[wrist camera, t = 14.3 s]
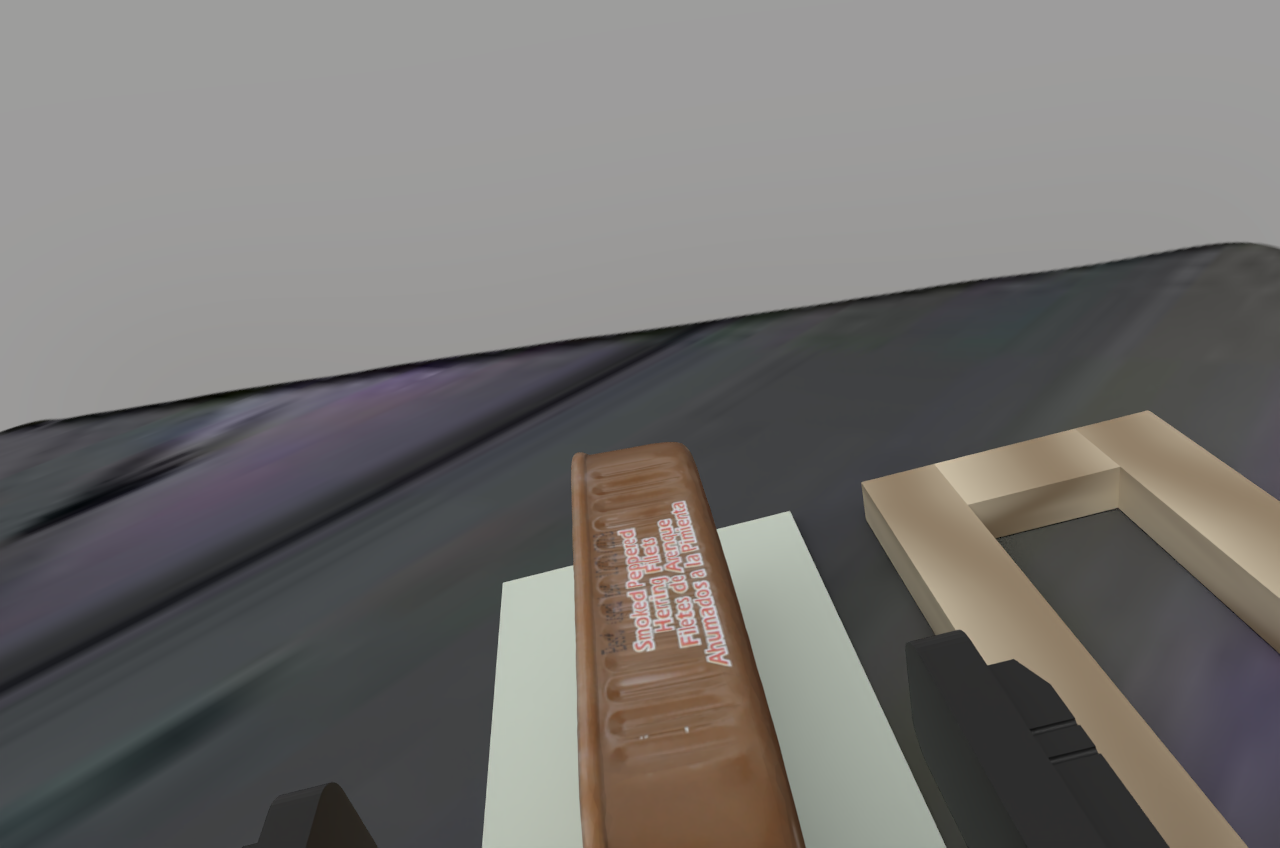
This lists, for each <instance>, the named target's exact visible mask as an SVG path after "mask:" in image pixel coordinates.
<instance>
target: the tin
mask: <svg viewBox="0 0 1280 848" xmlns="http://www.w3.org/2000/svg"><path fill="white" fill-rule="evenodd" d="M572 459H573V460H572V466H571V470H572V472H571V490H572V521H573V531H572V535H573V559H574V561H573V570H574V601H575V633H576V639H575V640H576V680H577V741H578V777H579V802H580V817H581V829H582V842H583V848H806V846H805V842H804V838H803V834H802V830H801V826H800V822H799V818H798V814H797V811H796V807H795V803H794V799H793V795H792V791H791V788H790V784H789V780H788V777H787V773H786V769H785V765H784V761H783V757H782V753H781V749H780V745H779V741H778V738H777V734H776V731H775V727H774V723H773V720H772V717H771V713H770V710H769V707H768V703H767V699H766V696H765V692H764V688H763V685H762V681H761V679H760V676H759V672H758V669H757V665H756V661H755V658H754V654H753V651H752V647H751V643H750V639H749V636H748V633H747V630H746V627H745V623H744V619H743V615H742V612H741V608H740V605H739V601H738V598H737V595H736V592H735V588H734V585H733V581H732V578H731V575H730V571H729V568H728V565H727V561H726V558H725V555H724V552H723V549H722V545H721V541H720V538H719V535H718V532H717V530H716V527H715V523H714V520H713V516H712V513H711V510H710V506H709V504H708V501H707V498H706V495H705V492H704V489H703V486H702V483H701V480H700V476H699V473H698V470H697V467H696V464H695V462H694V459H693V457H692V455H691V453H690V451H689V450H688V448H687V447H686V446H684V445H683V444H681V443H677V442H664V443H655V444H648V445H643V446H638V447H633V448H627V449H621V450H616V451H610V452H604V453H599V454H593V455H588V454H585V453H576V454H574V456H573V458H572Z"/></svg>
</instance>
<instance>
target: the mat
mask: <svg viewBox="0 0 1280 848" xmlns="http://www.w3.org/2000/svg"><path fill="white" fill-rule="evenodd" d="M716 530H717V532H718V535H719V538H720V541H721V545H722V549H723V552H724V555H725V558H726V561H727V565H728V568H729V571H730V575H731V578H732V581H733V585H734V588H735V592H736V595H737V598H738V601H739V605H740V608H741V612H742V615H743V619H744V623H745V627H746V630H747V633H748V636H749V639H750V643H751V647H752V651H753V654H754V658H755V661H756V665H757V669H758V672H759V676H760V679H761V681H762V685H763V688H764V692H765V696H766V699H767V703H768V707H769V710H770V713H771V717H772V720H773V723H774V727H775V731H776V734H777V738H778V741H779V745H780V749H781V753H782V757H783V761H784V765H785V769H786V773H787V777H788V780H789V784H790V788H791V791H792V795H793V799H794V803H795V807H796V811H797V814H798V818H799V822H800V826H801V830H802V834H803V838H804V842H805V846H806V848H946V846H945V844H944V841H943V839H942V837H941V835H940V833H939V831H938V829H937V826H936V824H935V822H934V820H933V818H932V816H931V813H930V811H929V809H928V807H927V805H926V803H925V801H924V798H923V796H922V794H921V792H920V790H919V788H918V786H917V783H916V781H915V779H914V777H913V775H912V773H911V770H910V768H909V766H908V764H907V762H906V760H905V758H904V755H903V753H902V751H901V749H900V747H899V745H898V743H897V740H896V738H895V736H894V734H893V732H892V730H891V727H890V725H889V723H888V721H887V719H886V717H885V715H884V712H883V710H882V708H881V706H880V704H879V702H878V700H877V697H876V695H875V693H874V691H873V689H872V687H871V684H870V682H869V680H868V678H867V676H866V674H865V672H864V669H863V667H862V665H861V663H860V661H859V659H858V657H857V654H856V652H855V650H854V648H853V646H852V644H851V641H850V639H849V637H848V635H847V633H846V631H845V629H844V626H843V624H842V622H841V620H840V618H839V616H838V614H837V611H836V609H835V607H834V605H833V603H832V601H831V598H830V596H829V594H828V592H827V590H826V588H825V586H824V583H823V581H822V579H821V577H820V575H819V573H818V571H817V568H816V566H815V564H814V562H813V560H812V558H811V555H810V553H809V551H808V549H807V547H806V545H805V543H804V540H803V538H802V536H801V534H800V532H799V530H798V527H797V525H796V523H795V521H794V519H793V517H792V515H791V512H790V511H788V512H784V513H780V514H776V515H772V516H768V517H764V518H760V519H756V520H752V521H748V522H744V523H740V524H736V525H732V526H728V527H724V528H720V529H716ZM575 639H576V633H575V601H574V570H573V566H569V567H565V568H561V569H557V570H553V571H549V572H545V573H541V574H537V575H533V576H529V577H525V578H521V579H517V580H513V581H509V582H505V583H503V589H502V602H501V614H500V627H499V640H498V652H497V665H496V678H495V690H494V703H493V716H492V728H491V741H490V754H489V766H488V779H487V792H486V804H485V817H484V830H483V842H482V848H583V842H582V829H581V817H580V802H579V777H578V741H577V680H576V640H575Z"/></svg>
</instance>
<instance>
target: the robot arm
mask: <svg viewBox="0 0 1280 848" xmlns="http://www.w3.org/2000/svg"><path fill="white" fill-rule="evenodd" d="M906 661H907V670H908V680H909V690H910V699H911V709H912V718H913V723H914V728H915V732H916V735H917V739H918V742H919V745H920V748H921V751H922V753H923V756H924V758H925V761H926V763H927V765H928V767H929V769H930V771H931V773H932V775H933V777H934V779H935V781H936V784H937V786H938V788H939V790H940V792H941V794H942V796H943V798H944V800H945V802H946V804H947V806H948V808H949V810H950V812H951V814H952V816H953V818H954V820H955V822H956V824H957V826H958V828H959V830H960V832H961V834H962V836H963V838H964V840H965V842H966V844H967V846H968V848H1170V847H1169V846H1168V844H1167V843H1166V842H1165V840H1164V839H1163V837H1162V836H1161V835H1160V833H1159V832H1158V831H1157V829H1156V828H1155V826H1154V825H1153V824H1152V822H1151V821H1150V820H1149V818H1148V817H1147V816H1146V814H1145V813H1144V811H1143V810H1142V809H1141V807H1140V806H1139V805H1138V803H1137V802H1136V800H1135V799H1134V798H1133V796H1132V795H1131V794H1130V792H1129V791H1128V789H1127V788H1126V787H1125V785H1124V784H1123V783H1122V781H1121V780H1120V779H1119V777H1118V776H1117V774H1116V773H1115V772H1114V770H1113V769H1112V768H1111V766H1110V765H1109V763H1108V762H1107V761H1106V759H1105V758H1104V757H1103V755H1102V754H1101V753H1100V754H1099V753H1098V751H1097V749H1096V746H1095V744H1094V743H1093V742H1092V740H1091V739H1090V737H1089V736H1088V735H1087V733H1086V732H1085V731H1084V729H1083V728H1082V727H1081V725H1078V724H1077V722H1076V720H1075V717H1074V716H1073V714H1072V713H1071V711H1070V710H1069V709H1068V707H1067V706H1066V705H1065V703H1064V702H1063V701H1062V699H1061V698H1060V696H1059V695H1058V694H1057V692H1056V691H1055V690H1054V688H1053V687H1052V685H1051V684H1050V683H1048V682H1047V681H1045V680H1044V679H1042V678H1041V677H1039V676H1038V675H1037V674H1035V673H1034V672H1032V671H1031V670H1029V669H1028V668H1026V667H1025V666H1024V665H1022V664H1021V663H1019V662H1018V661H1016V660H1015V659H1012V660H1007V661H1003V662H999V663H995V664H991V665H987V664H986V662H985V661H984V659H983V658H982V656H981V655H980V653H979V652H978V650H977V649H976V647H975V646H974V644H973V643H972V641H971V640H970V638H969V637H968V636H967V634H966V633H965V632H964V631H962V630H955V631H951V632H947V633H943V634H939V635H935V636H931V637H927V638H923V639H919V640H915V641H910V642H907V643H906ZM242 848H378V847H377V845H376V843H375V842H374V840H373V838H372V837H371V835H370V834H369V832H368V830H367V829H366V827H365V825H364V824H363V822H362V820H361V819H360V817H359V815H358V814H357V812H356V811H355V809H354V807H353V806H352V804H351V802H350V801H349V799H348V797H347V796H346V794H345V792H344V791H343V789H342V788H341V787H340V786H339V785H338V784H336V783H328V784H324V785H320V786H316V787H312V788H307V789H303V790H299V791H295V792H291V793H287V794H283V795H280V796H278V797H277V798H276V799H275V800H274V801H273V803H272V804H271V806H270V809H269V811H268V814H267V817H266V820H265V823H264V826H263V829H262V832H261V835H260V838H259V841H258V843H255V844H251V845H247V846H243V847H242Z"/></svg>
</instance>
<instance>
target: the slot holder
mask: <svg viewBox="0 0 1280 848" xmlns="http://www.w3.org/2000/svg"><path fill="white" fill-rule="evenodd" d="M861 483H862V491H863V500H864V508H865V516H866V520H867V522H868V524H869V525H870V527H871V529H872V530H873V532H874V534H875V535H876V537H877V539H878V540H879V542H880V544H881V545H882V547H883V549H884V550H885V552H886V554H887V555H888V557H889V559H890V560H891V562H892V564H893V565H894V567H895V569H896V570H897V572H898V574H899V575H900V577H901V579H902V580H903V582H904V584H905V585H906V587H907V589H908V590H909V592H910V594H911V595H912V597H913V598H914V600H915V602H916V603H917V605H918V607H919V608H920V610H921V612H922V613H923V615H924V617H925V618H926V620H927V622H928V623H929V625H930V627H931V628H932V630H933V632H934V633H935V635H939V634H943V633H947V632H951V631H955V630H962V631H964V632H965V633H966V634H967V636H968V637H969V638H970V640H971V641H972V643H973V644H974V646H975V647H976V649H977V650H978V652H979V653H980V655H981V656H982V658H983V659H984V661H985V662H986V664H987V665H991V664H995V663H999V662H1003V661H1007V660H1012V659H1015V660H1016V661H1018V662H1019V663H1021V664H1022V665H1024V666H1025V667H1026V668H1028V669H1029V670H1031V671H1032V672H1034V673H1035V674H1037V675H1038V676H1039V677H1041V678H1042V679H1044V680H1045V681H1047V682H1048V683H1050V684H1051V685H1052V687H1053V688H1054V690H1055V691H1056V692H1057V694H1058V695H1059V696H1060V698H1061V699H1062V701H1063V702H1064V703H1065V705H1066V706H1067V707H1068V709H1069V710H1070V711H1071V713H1072V714H1073V716H1074V717H1075V720H1076V722H1077V724H1078V725H1081V727H1082V728H1083V729H1084V731H1085V732H1086V733H1087V735H1088V736H1089V737H1090V739H1091V740H1092V742H1093V743H1094V744H1095V746H1096V749H1097V751H1098V753H1099V754H1100V753H1101V754H1102V755H1103V757H1104V758H1105V759H1106V761H1107V762H1108V763H1109V765H1110V766H1111V768H1112V769H1113V770H1114V772H1115V773H1116V774H1117V776H1118V777H1119V779H1120V780H1121V781H1122V783H1123V784H1124V785H1125V787H1126V788H1127V789H1128V791H1129V792H1130V794H1131V795H1132V796H1133V798H1134V799H1135V800H1136V802H1137V803H1138V805H1139V806H1140V807H1141V809H1142V810H1143V811H1144V813H1145V814H1146V816H1147V817H1148V818H1149V820H1150V821H1151V822H1152V824H1153V825H1154V826H1155V828H1156V829H1157V831H1158V832H1159V833H1160V835H1161V836H1162V837H1163V839H1164V840H1165V842H1166V843H1167V844H1168V846H1169V847H1170V848H1248V847H1247V845H1246V844H1245V843H1244V842H1243V841H1242V839H1241V838H1240V837H1239V836H1238V834H1237V833H1236V832H1235V831H1234V830H1233V828H1232V827H1231V826H1230V825H1229V823H1228V822H1227V821H1226V820H1225V819H1224V817H1223V816H1222V815H1221V814H1220V812H1219V811H1218V810H1217V809H1216V808H1215V806H1214V805H1213V804H1212V803H1211V801H1210V800H1209V799H1208V798H1207V797H1206V795H1205V794H1204V793H1203V792H1202V791H1201V789H1200V788H1199V787H1198V786H1197V784H1196V783H1195V782H1194V781H1193V780H1192V778H1191V777H1190V776H1189V775H1188V773H1187V772H1186V771H1185V770H1184V769H1183V767H1182V766H1181V765H1180V764H1179V762H1178V761H1177V760H1176V759H1175V758H1174V756H1173V755H1172V754H1171V753H1170V751H1169V750H1168V749H1167V748H1166V747H1165V745H1164V744H1163V743H1162V742H1161V740H1160V739H1159V738H1158V737H1157V736H1156V734H1155V733H1154V732H1153V731H1152V729H1151V728H1150V727H1149V726H1148V725H1147V723H1146V722H1145V721H1144V720H1143V718H1142V717H1141V716H1140V715H1139V714H1138V712H1137V711H1136V710H1135V709H1134V707H1133V706H1132V705H1131V704H1130V703H1129V701H1128V700H1127V699H1126V698H1125V696H1124V695H1123V694H1122V693H1121V692H1120V690H1119V689H1118V688H1117V687H1116V685H1115V684H1114V683H1113V682H1112V681H1111V679H1110V678H1109V677H1108V676H1107V674H1106V673H1105V672H1104V671H1103V670H1102V668H1101V667H1100V666H1099V665H1098V663H1097V662H1096V661H1095V660H1094V659H1093V657H1092V656H1091V655H1090V654H1089V652H1088V651H1087V650H1086V649H1085V648H1084V646H1083V645H1082V644H1081V643H1080V641H1079V640H1078V639H1077V638H1076V637H1075V635H1074V634H1073V633H1072V632H1071V631H1070V629H1069V628H1068V627H1067V626H1066V624H1065V623H1064V622H1063V621H1062V620H1061V618H1060V617H1059V616H1058V615H1057V613H1056V612H1055V611H1054V610H1053V609H1052V607H1051V606H1050V605H1049V604H1048V602H1047V601H1046V600H1045V599H1044V598H1043V596H1042V595H1041V594H1040V593H1039V591H1038V590H1037V589H1036V588H1035V587H1034V585H1033V584H1032V583H1031V582H1030V580H1029V579H1028V578H1027V577H1026V576H1025V574H1024V573H1023V572H1022V571H1021V569H1020V568H1019V567H1018V566H1017V565H1016V563H1015V562H1014V561H1013V560H1012V558H1011V557H1010V556H1009V555H1008V554H1007V552H1006V551H1005V550H1004V549H1003V547H1002V546H1001V545H1000V544H999V543H998V541H997V540H996V539H995V538H999V537H1003V536H1007V535H1011V534H1015V533H1019V532H1023V531H1027V530H1031V529H1035V528H1039V527H1043V526H1047V525H1051V524H1055V523H1059V522H1063V521H1067V520H1071V519H1075V518H1079V517H1083V516H1087V515H1091V514H1095V513H1099V512H1103V511H1107V510H1111V509H1115V508H1119V509H1120V510H1121V511H1122V512H1123V513H1125V514H1126V515H1127V516H1128V517H1129V518H1130V519H1131V520H1132V521H1133V522H1135V523H1136V524H1137V525H1138V526H1139V527H1140V528H1141V529H1142V530H1143V531H1144V532H1146V533H1147V534H1148V535H1149V536H1150V537H1151V538H1152V539H1153V540H1154V541H1156V542H1157V543H1158V544H1159V545H1160V546H1161V547H1162V548H1163V549H1164V550H1166V551H1167V552H1168V553H1169V554H1170V555H1171V556H1172V557H1173V558H1174V559H1175V560H1177V561H1178V562H1179V563H1180V564H1181V565H1182V566H1183V567H1184V568H1185V569H1187V570H1188V571H1189V572H1190V573H1191V574H1192V575H1193V576H1194V577H1195V578H1197V579H1198V580H1199V581H1200V582H1201V583H1202V584H1203V585H1204V586H1205V587H1206V588H1208V589H1209V590H1210V591H1211V592H1212V593H1213V594H1214V595H1215V596H1216V597H1218V598H1219V599H1220V600H1221V601H1222V602H1223V603H1224V604H1225V605H1226V606H1228V607H1229V608H1230V609H1231V610H1232V611H1233V612H1234V613H1235V614H1236V615H1237V616H1239V617H1240V618H1241V619H1242V620H1243V621H1244V622H1245V623H1246V624H1247V625H1249V626H1250V627H1251V628H1252V629H1253V630H1254V631H1255V632H1256V633H1257V634H1259V635H1260V636H1261V637H1262V638H1263V639H1264V640H1265V641H1266V642H1267V643H1268V644H1270V645H1271V646H1272V647H1273V648H1274V649H1275V650H1276V651H1277V652H1278V653H1280V501H1278V500H1277V499H1275V498H1274V497H1272V496H1271V495H1269V494H1268V493H1267V492H1265V491H1264V490H1262V489H1261V488H1259V487H1258V486H1257V485H1255V484H1254V483H1252V482H1251V481H1249V480H1248V479H1246V478H1245V477H1244V476H1242V475H1241V474H1239V473H1238V472H1236V471H1235V470H1234V469H1232V468H1231V467H1229V466H1228V465H1226V464H1225V463H1223V462H1222V461H1221V460H1219V459H1218V458H1216V457H1215V456H1213V455H1212V454H1211V453H1209V452H1208V451H1206V450H1205V449H1203V448H1202V447H1200V446H1199V445H1198V444H1196V443H1195V442H1193V441H1192V440H1190V439H1189V438H1187V437H1186V436H1185V435H1183V434H1182V433H1180V432H1179V431H1177V430H1176V429H1175V428H1173V427H1172V426H1170V425H1169V424H1167V423H1166V422H1164V421H1163V420H1162V419H1160V418H1159V417H1157V416H1156V415H1154V414H1153V413H1152V412H1150V411H1149V410H1148V411H1144V412H1140V413H1136V414H1132V415H1128V416H1124V417H1120V418H1116V419H1112V420H1108V421H1104V422H1100V423H1096V424H1092V425H1088V426H1084V427H1080V428H1076V429H1072V430H1068V431H1064V432H1060V433H1056V434H1052V435H1048V436H1044V437H1040V438H1036V439H1032V440H1028V441H1024V442H1020V443H1016V444H1012V445H1008V446H1004V447H1000V448H996V449H992V450H988V451H984V452H980V453H976V454H972V455H968V456H964V457H960V458H956V459H952V460H948V461H944V462H940V463H937V464H933V465H929V466H925V467H921V468H917V469H913V470H909V471H905V472H901V473H897V474H893V475H889V476H885V477H881V478H877V479H873V480H869V481H865V482H861Z"/></svg>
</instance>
